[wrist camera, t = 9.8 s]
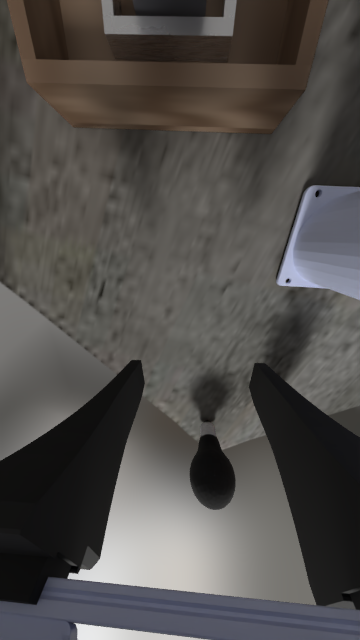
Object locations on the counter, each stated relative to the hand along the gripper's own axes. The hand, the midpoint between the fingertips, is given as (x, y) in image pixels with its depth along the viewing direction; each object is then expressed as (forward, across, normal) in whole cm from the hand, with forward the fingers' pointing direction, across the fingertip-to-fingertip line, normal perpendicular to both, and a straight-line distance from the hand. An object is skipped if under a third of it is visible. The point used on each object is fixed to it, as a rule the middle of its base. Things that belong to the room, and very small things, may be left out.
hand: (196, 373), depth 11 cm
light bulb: (+10, -3, +20) cm, 23 cm away
